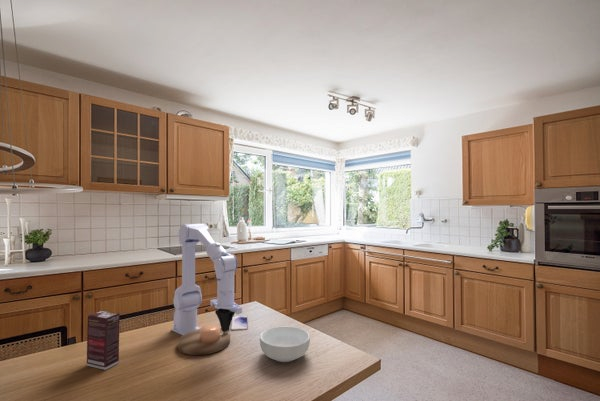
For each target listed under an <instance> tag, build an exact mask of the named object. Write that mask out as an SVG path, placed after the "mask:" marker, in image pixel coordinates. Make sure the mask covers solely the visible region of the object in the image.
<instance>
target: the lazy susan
mask: <svg viewBox="0 0 600 401" xmlns="http://www.w3.org/2000/svg"><path fill="white" fill-rule="evenodd" d="M230 342H231V333H230V330H228V331H226V332H223V331H222V329H221V327H220V340H219V341H217V342H215V343H212V344H203V343H201V342H200V329H196V330H193V331H190V332H188V333H186V334H184V335H181V336H180V337H179V338H178V343H177V344H178V345H177V346H178V347H177V348H178V350H179V352H181V353H183V354H186V355H190V356H203V355H209V354H213V353H216V352H220V351H221V350H223V349H225V348H226V347H228V345H230Z"/></svg>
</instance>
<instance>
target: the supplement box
mask: <svg viewBox="0 0 600 401" xmlns="http://www.w3.org/2000/svg"><path fill="white" fill-rule="evenodd" d="M120 318H121V317H120V313H116V312H111V311H103V310H100V311H96V312H93V313H90V314H88V315H87V330H86V332H87V333H86V334H87V335H86V336H87V337H86V341H87V342H86V366H87V367H92V368H96V369H100V370H104V371H106V370H108V369H110V368H112V367H114V366H116V365H118V364H119V361H120V360H119V358H120V355H119V354H120V322H121V321H120Z"/></svg>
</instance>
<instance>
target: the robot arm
mask: <svg viewBox="0 0 600 401" xmlns="http://www.w3.org/2000/svg"><path fill="white" fill-rule="evenodd" d="M178 242H179V245H181V285H179V286H178V287H177V288H175V291H174V296H173V301H172V302H173V306H174V308H175V310H174V311H173V312H174V313H173V328H171V331H172V332H174V333H177V334H179V335H181V336H183V335H184V334H186V333H188V332H190V331H193V330H196V329H200V328H201V327H199V326H198V308H200V305H201V303H202V301H203V296H202V289H201V287H200V286H199V285H198V284H196V246H197V245H198V244H199V243H201V244H202V245H203V246H204V247H205V248H206V251H205V252H206V254H207V256H208V257H209V258H210V260H211V261H212V262H213V268H214V271H215V278H216V279H217V281H216V282H217V283H216V284H217V286H216V290H217V292H216V298H214V299H210V306H211V307H214V309H216V310H215V312H214V313H215V315H216V316H217V319H218V321H219V326H220V328H221V329H222V331H223V332H226V331H228V330H229V328H230V329H231V321H232V318H233V316H235V314H236V315H239V314H243V307H242V306H241V305H239V304H238V303H236V302H235V272H236V271H237V269H238V267H239V261H238V258H237V256H236V255H235V254H233V253H232V254H231V253H228V252H227V250H226V249H225V248H224V247H223V246H222V244H221V243H220V242H215V240H214V239H213V237H212V236H211V234H210V228H209V226H208V224H206V222H205V223H204V222H203V223H202V222H201V223H183V224H181V226H180V227H179V230H178ZM229 331H230V330H229Z"/></svg>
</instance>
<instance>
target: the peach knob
mask: <svg viewBox="0 0 600 401" xmlns="http://www.w3.org/2000/svg"><path fill="white" fill-rule="evenodd" d="M220 328H221V325H220V324H207V325H204V326H203V325H202V326H201V327H200V342H201V343H203V344H212V343H215V342H217V341H219V340H220Z"/></svg>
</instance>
